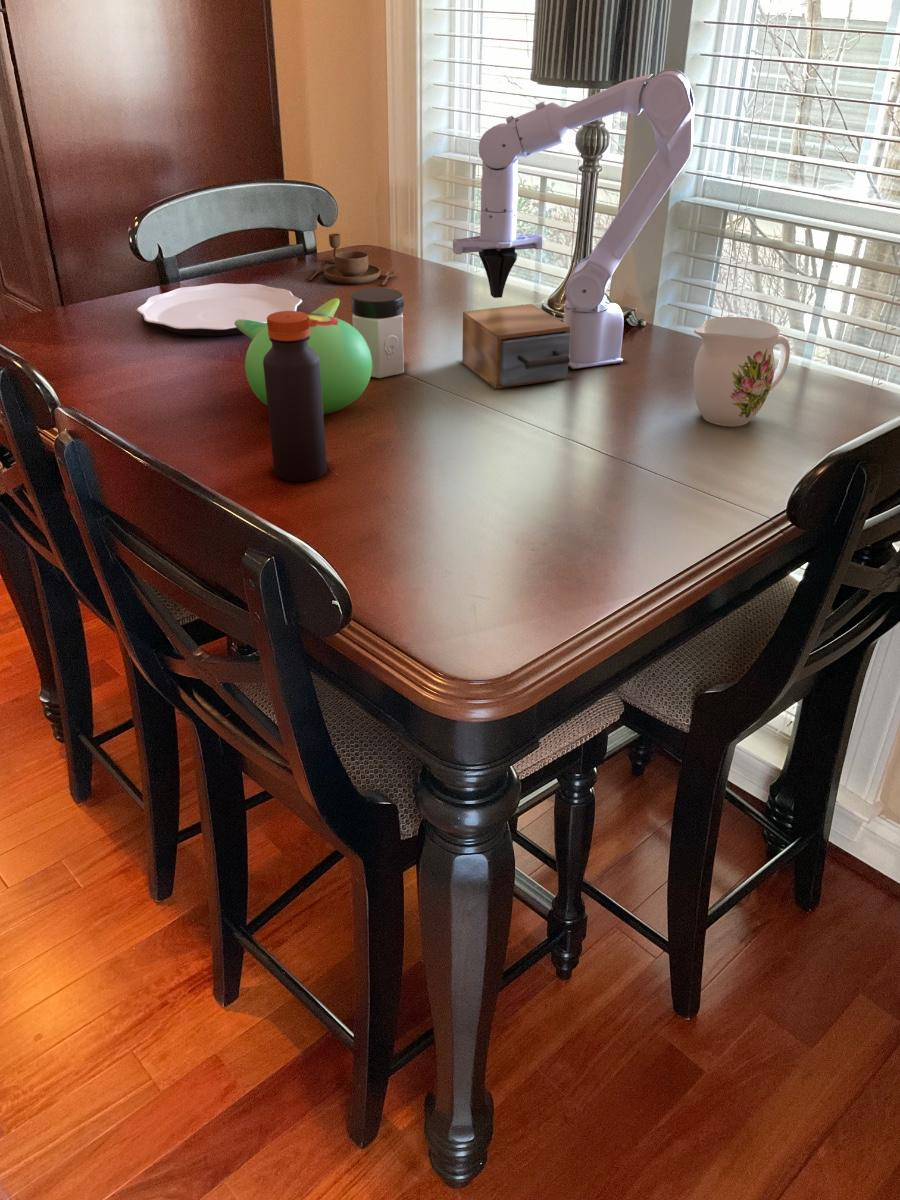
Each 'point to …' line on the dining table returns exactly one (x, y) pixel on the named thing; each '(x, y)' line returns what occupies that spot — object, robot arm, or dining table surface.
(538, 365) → the grey wooden drawer
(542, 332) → the wooden drawer box
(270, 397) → the bottle
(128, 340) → the dining table surface
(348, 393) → the toy bird
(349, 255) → the place setting
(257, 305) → the plate
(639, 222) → the robot arm
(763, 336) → the pitcher
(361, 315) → the jar
